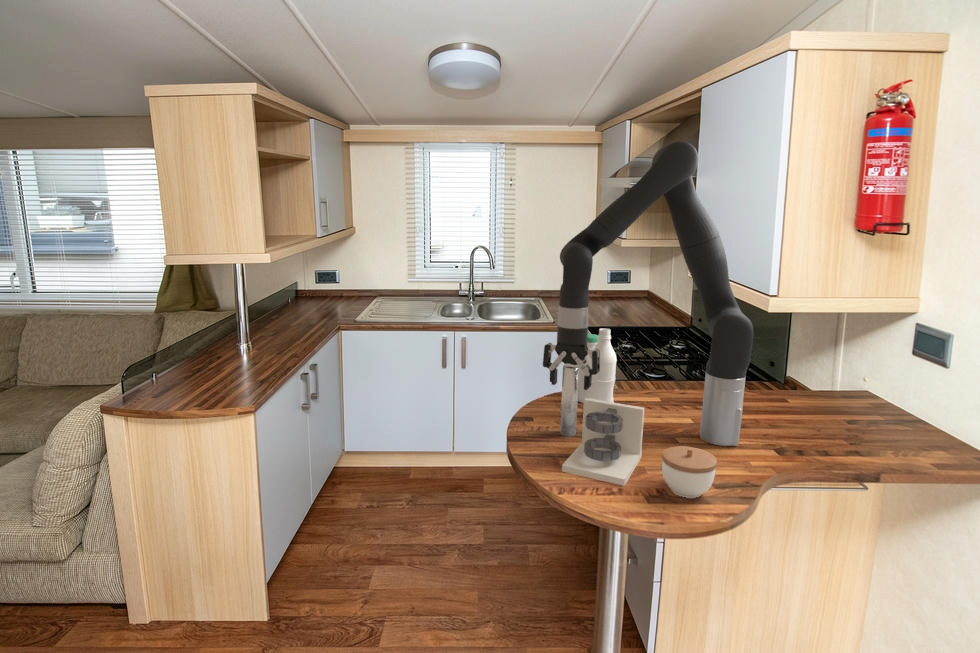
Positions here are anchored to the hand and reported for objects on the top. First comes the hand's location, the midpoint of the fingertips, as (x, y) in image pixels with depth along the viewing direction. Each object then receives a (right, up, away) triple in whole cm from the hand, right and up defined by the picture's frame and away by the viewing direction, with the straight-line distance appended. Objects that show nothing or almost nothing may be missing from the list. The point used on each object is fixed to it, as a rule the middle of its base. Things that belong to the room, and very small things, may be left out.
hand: (569, 386), depth 149 cm
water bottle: (+10, -10, +14) cm, 20 cm away
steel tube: (0, -12, +3) cm, 13 cm away
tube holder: (+5, -16, -15) cm, 23 cm away
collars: (+6, -13, -14) cm, 21 cm away
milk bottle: (+9, -7, +28) cm, 30 cm away
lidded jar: (+21, -19, -26) cm, 39 cm away
